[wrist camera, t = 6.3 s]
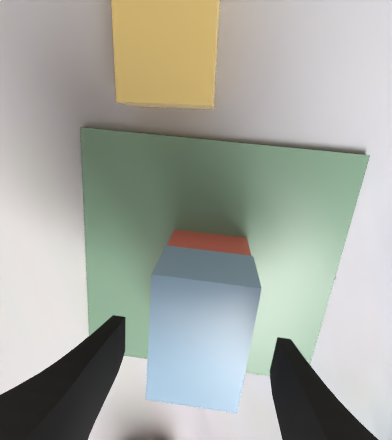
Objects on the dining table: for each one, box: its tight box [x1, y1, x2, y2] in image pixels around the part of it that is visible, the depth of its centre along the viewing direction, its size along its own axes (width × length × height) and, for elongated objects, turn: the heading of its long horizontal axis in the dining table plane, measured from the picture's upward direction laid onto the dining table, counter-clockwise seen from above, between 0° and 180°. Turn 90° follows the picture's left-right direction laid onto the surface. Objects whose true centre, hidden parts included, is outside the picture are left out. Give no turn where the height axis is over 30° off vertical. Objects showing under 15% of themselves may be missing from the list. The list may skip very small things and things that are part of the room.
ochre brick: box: [111, 0, 220, 109], centre depth 13 cm, size 4×7×3 cm, turn 178°
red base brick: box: [167, 229, 251, 256], centre depth 17 cm, size 4×7×3 cm, turn 175°
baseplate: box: [80, 127, 370, 376], centre depth 18 cm, size 16×16×1 cm
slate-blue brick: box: [146, 245, 262, 413], centre depth 14 cm, size 4×7×3 cm, turn 175°
